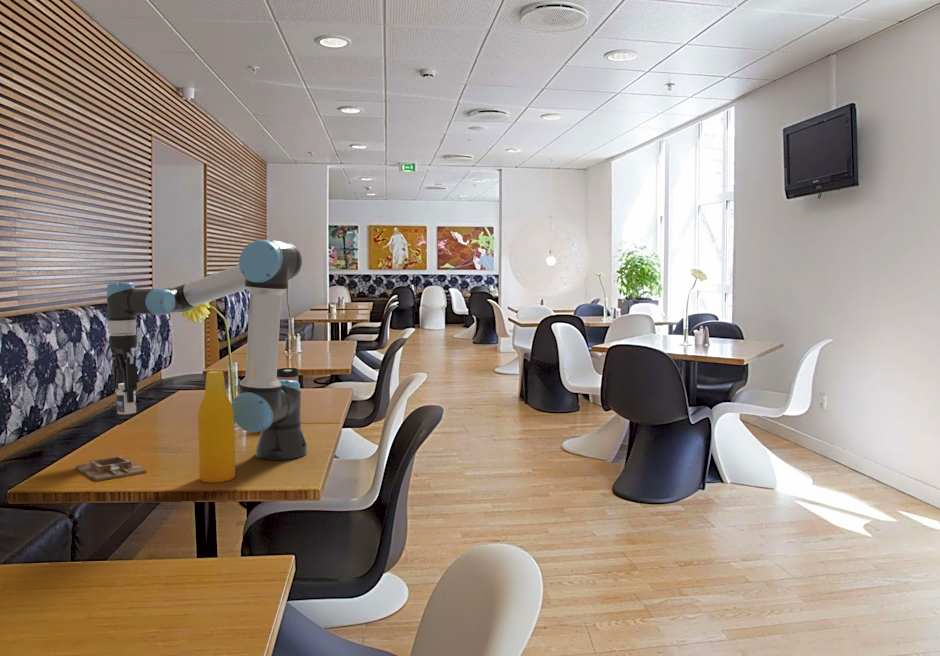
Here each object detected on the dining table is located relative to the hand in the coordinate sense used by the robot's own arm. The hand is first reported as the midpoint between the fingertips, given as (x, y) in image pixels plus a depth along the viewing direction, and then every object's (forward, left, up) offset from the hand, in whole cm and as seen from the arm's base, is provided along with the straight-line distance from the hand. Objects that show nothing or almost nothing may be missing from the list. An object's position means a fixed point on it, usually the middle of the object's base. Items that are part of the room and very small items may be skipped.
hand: (126, 411), depth 226 cm
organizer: (-12, +9, -14) cm, 20 cm away
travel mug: (+12, -61, -14) cm, 64 cm away
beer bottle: (-40, -10, -14) cm, 43 cm away
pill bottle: (0, 0, -1) cm, 1 cm away
